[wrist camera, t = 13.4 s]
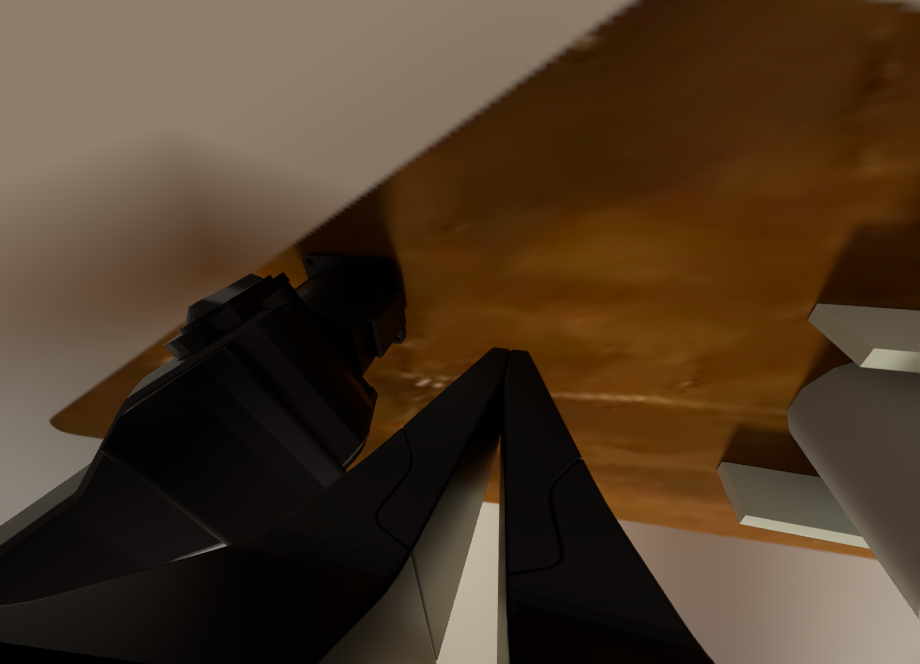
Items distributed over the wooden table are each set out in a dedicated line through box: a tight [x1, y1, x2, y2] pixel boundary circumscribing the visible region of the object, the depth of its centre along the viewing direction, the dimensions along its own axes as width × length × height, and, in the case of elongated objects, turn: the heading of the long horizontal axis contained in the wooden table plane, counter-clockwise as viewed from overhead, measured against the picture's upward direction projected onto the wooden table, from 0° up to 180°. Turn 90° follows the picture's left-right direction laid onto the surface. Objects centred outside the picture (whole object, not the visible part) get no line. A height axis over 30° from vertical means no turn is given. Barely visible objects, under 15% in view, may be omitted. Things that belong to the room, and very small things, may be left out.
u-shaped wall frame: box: [717, 304, 920, 549], centre depth 19 cm, size 11×14×4 cm
